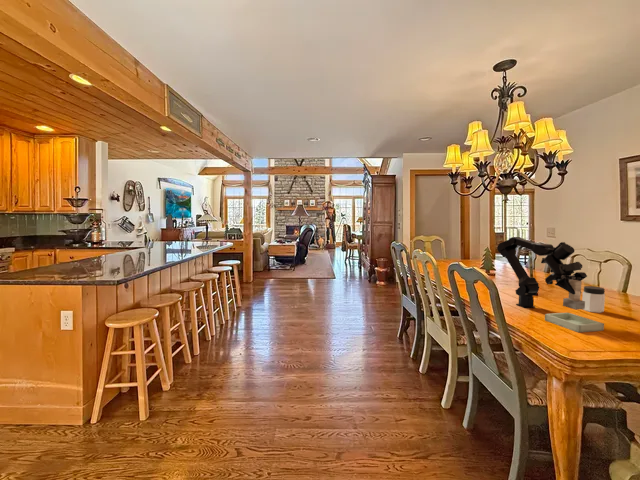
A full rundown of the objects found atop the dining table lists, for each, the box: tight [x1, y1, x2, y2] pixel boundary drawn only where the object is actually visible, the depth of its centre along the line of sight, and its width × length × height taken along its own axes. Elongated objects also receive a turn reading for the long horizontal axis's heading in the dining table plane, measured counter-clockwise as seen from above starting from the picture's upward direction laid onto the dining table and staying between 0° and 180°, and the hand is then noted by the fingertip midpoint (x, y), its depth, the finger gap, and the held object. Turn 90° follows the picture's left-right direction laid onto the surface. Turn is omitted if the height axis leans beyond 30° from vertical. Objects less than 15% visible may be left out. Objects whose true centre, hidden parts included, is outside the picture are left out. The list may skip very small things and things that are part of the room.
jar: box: [581, 285, 606, 314], centre depth 164 cm, size 9×8×12 cm
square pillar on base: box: [562, 280, 585, 311], centre depth 146 cm, size 6×5×12 cm
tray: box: [544, 312, 605, 333], centre depth 142 cm, size 16×13×3 cm
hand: (577, 293), depth 145 cm, fingers closed on square pillar on base, 3 cm apart
